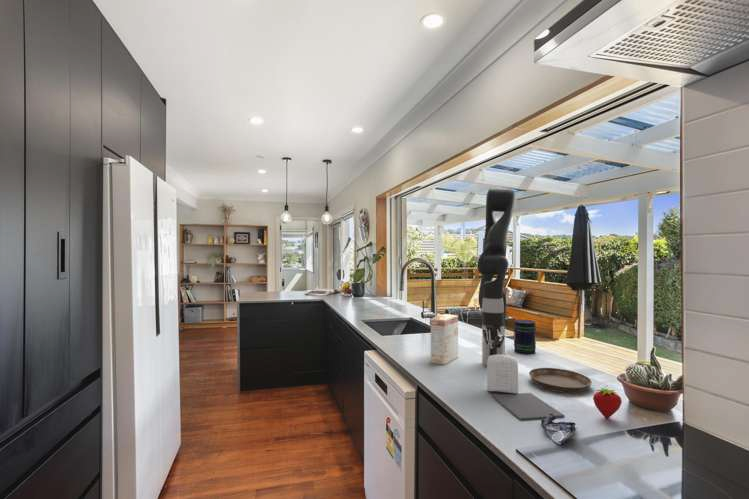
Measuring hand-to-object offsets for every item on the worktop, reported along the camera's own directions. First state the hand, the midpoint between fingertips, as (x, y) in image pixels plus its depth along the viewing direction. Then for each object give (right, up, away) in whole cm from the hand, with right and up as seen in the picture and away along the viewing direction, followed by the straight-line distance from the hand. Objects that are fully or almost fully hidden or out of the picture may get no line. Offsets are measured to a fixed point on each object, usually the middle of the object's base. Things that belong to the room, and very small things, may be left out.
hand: (493, 358), depth 138 cm
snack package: (+6, -11, -36) cm, 38 cm away
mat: (+5, -10, -18) cm, 21 cm away
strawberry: (+25, -10, -26) cm, 38 cm away
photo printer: (+1, -10, -7) cm, 12 cm away
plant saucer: (+25, -11, +2) cm, 27 cm away
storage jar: (+30, -11, +47) cm, 57 cm away
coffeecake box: (-11, -11, +34) cm, 37 cm away
